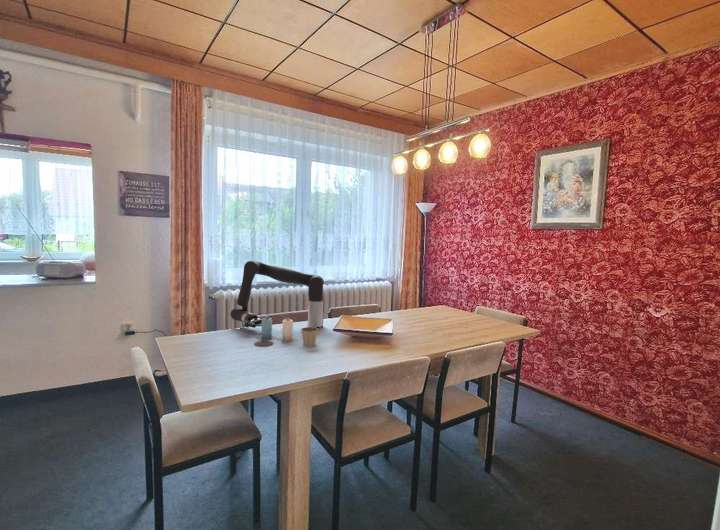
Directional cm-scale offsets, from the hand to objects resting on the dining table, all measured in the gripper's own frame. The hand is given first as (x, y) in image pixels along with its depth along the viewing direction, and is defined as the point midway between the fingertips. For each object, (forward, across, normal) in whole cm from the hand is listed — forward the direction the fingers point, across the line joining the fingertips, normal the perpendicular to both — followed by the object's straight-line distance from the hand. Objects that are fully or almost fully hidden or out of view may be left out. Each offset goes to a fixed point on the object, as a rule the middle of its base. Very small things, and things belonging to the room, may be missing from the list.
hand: (261, 325), depth 201 cm
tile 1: (+6, 0, +6) cm, 9 cm away
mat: (+15, -6, +6) cm, 18 cm away
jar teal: (+6, 0, +6) cm, 9 cm away
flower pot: (+28, +14, +7) cm, 32 cm away
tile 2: (+15, +8, +6) cm, 18 cm away
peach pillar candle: (+15, +8, +6) cm, 18 cm away
